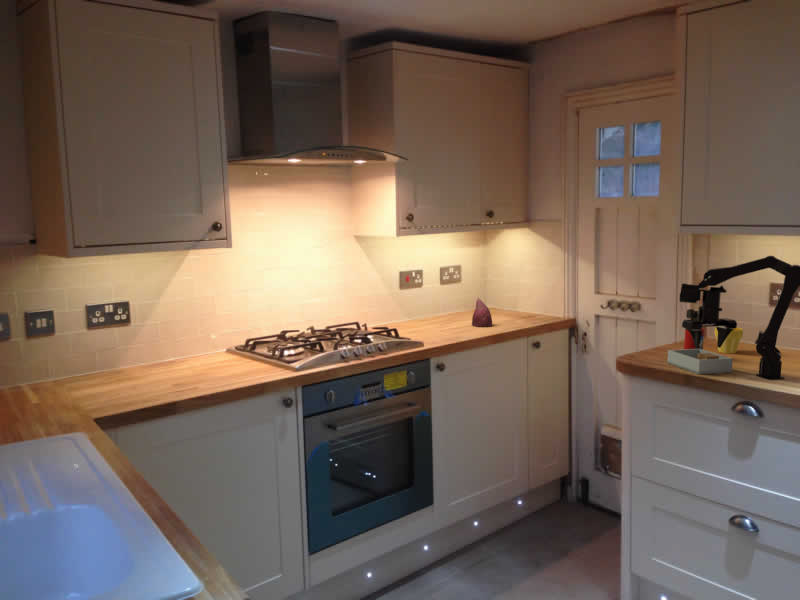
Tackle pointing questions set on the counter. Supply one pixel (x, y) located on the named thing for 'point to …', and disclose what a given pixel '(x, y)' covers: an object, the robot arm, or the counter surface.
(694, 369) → the tote
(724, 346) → the plant pot
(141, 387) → the counter surface
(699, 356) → the walnut cube
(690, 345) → the beverage can
